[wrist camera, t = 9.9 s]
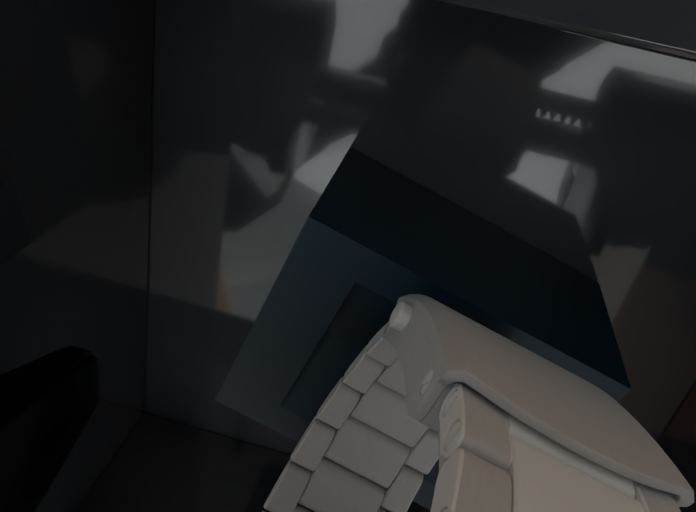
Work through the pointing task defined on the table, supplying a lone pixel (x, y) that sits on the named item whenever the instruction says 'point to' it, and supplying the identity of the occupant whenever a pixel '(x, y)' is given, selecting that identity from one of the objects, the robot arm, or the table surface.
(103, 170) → the basin
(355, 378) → the watch
